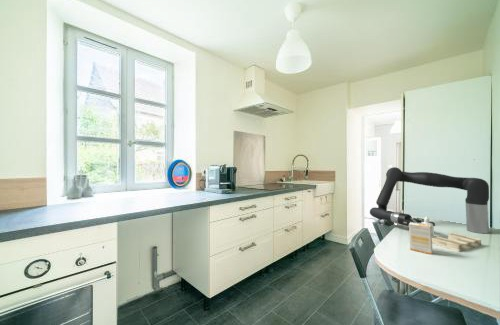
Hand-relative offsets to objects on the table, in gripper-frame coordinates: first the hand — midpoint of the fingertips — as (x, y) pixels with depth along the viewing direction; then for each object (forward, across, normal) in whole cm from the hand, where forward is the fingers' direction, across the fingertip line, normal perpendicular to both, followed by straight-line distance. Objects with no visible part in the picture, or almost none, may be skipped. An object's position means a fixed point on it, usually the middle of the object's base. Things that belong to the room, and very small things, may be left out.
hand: (429, 225), depth 117 cm
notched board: (+12, 0, +7) cm, 13 cm away
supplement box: (+10, -25, +7) cm, 28 cm away
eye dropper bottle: (-2, 0, +7) cm, 7 cm away
